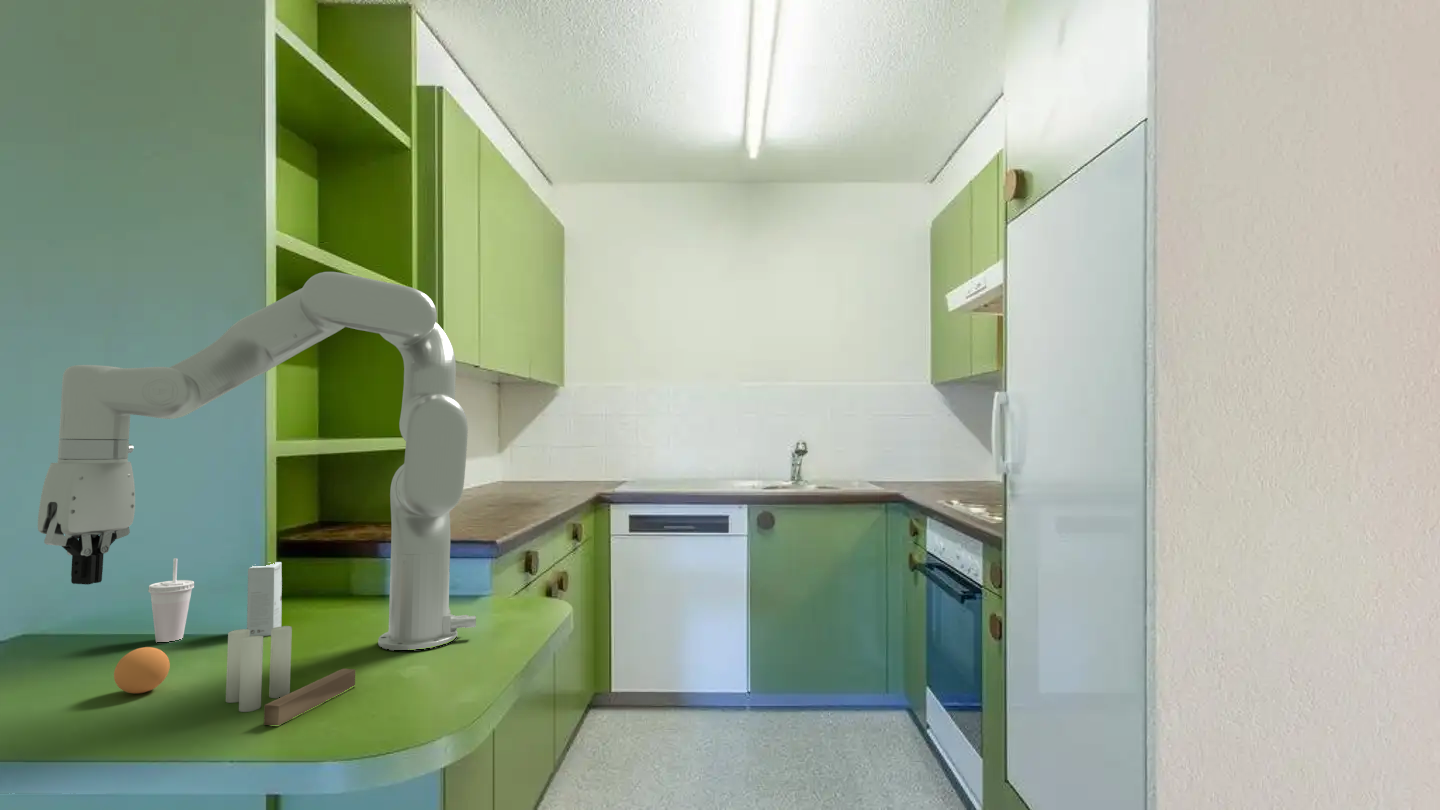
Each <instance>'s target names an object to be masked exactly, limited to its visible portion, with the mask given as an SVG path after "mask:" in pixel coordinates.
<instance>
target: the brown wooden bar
mask: <svg viewBox="0 0 1440 810" xmlns="http://www.w3.org/2000/svg"><path fill="white" fill-rule="evenodd" d="M354 685H355V686H356V669H353V668H342V669H339V670H336V671H334V672H332V673H330V674H328V675H326V676H324V677H322V678H320V679H317V680H315V681H313V682H311V683H309V684H306V685H304V686H302V687H301V688H298V689H296V690H294V691H292V692H291V691H290V693H289V694H287V695H285V696H283V697H280V698H275V699H274V700H272V701H270V702H268V703H265V704H264V706H263V707H264V709H263V711H264V712H263V726H264V725H280V724H282V723H284V722H286V721H288V720H290V719H292V718H293V717H295V716H297V715H299V714H301V713H304V712H305V711H307V710H309V709H311V708H313V707H315V706H317V705H319V704H321V703H323V702H325V701H326V700H328V699H330V698H332V697H334V696H336V695H338V694H340V693H342V692H344V691H345V690H347V689H349V688H350V687H352V686H354ZM304 714H305V713H304Z"/></svg>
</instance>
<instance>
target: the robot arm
mask: <svg viewBox="0 0 1440 810" xmlns="http://www.w3.org/2000/svg"><path fill="white" fill-rule="evenodd" d="M437 319H438V313H437V308H436V305H435V304H434V302H433V300H432V298H430V297H429V296H428V295H427V294H426V293H424V292H423V291H421V290H418V289H417V288H415V287H411V286H405V285H401V284H397V283H393V282H392V283H391V282H385V281H382V280H378V279H377V280H376V279H371V278H367V277H364V276H363V277H362V276H358V275H354V274H349V273H344V272H338V271H337V272H336V271H323V272H319V273H315V274H314V275H312V276H311V277H310V278H308V279H307V281H306V282H305V283H304V285H303V286H302V288H299V289H298V290H296V291H294V292H292V293H290V294H288V295H286V296H284V297H282V298H281V299H279V300H276V301H275V302H272V303H270V304H268V305H267V306H264V307H263V308H261V309H258V310H256V311H254V312H253V313H250V314H249V315H247V316H245V317H243V318H241V319H239V320H238V321H237V322H235V323H234V324H232V325H231V326H230V327H229V328H228V329H227V330H226V331H225V332H224V333H223V334H222V335H221V336H220V337H219V338H218V339H216V340H215V341H214V342H213V343H211V344H209V345H207V346H206V347H205V348H203V349H202V350H200V351H198V352H196V353H194V354H192V355H190V356H189V357H187V358H185V359H183V360H181V361H179V362H177V363H176V364H173V365H171V366H169V367H167V366H148V367H129V368H127V367H126V368H125V367H123V368H122V367H118V366H111V365H100V364H99V365H98V364H78V365H77V364H75V365H71V366H69V367H67V368H65V370H64V371H63V373H62V380H61V381H62V382H61V384H62V385H61V399H60V401H61V402H60V417H59V431H58V445H57V446H58V448H57V462H50V464H49V467H48V469H47V473H46V476H45V477H44V482H43V485H42V491H41V494H40V501H39V507H38V508H39V509H38V516H37V531H38V532H39V533H41V534H44V535H45V537H44V540H43V543H44V544H45V545H49V546H58V547H59V546H60V547H62V548H63V549H64V550H65V551H66V554H67V555H68V556H71V571H70V572H71V573H70V576H71V579H70V582H71V584H73V585H88V586H89V585H92V584H98V583H101V582H102V580H103V568H104V567H103V566H104V554H107V553H108V552H109V551H110V547H111V545H112V544H114V542H115V541H116V540H118V539H121V538H124V537H126V536H129V534H130V533H131V531H130V527H131V526H132V525H133V522H134V519H135V512H136V490H135V489H136V488H135V479H134V471H133V470H134V469H133V467H132V463H131V461H129V454H131V453H133V452H134V445H133V444H130V442H129V441H130V427H131V415H133V416H134V415H135V416H144V417H149V418H153V419H154V418H155V419H161V420H162V419H165V420H175V419H179V418H182V417H184V416H185V417H186V416H187V415H189V414H191V413H193V412H195V411H196V410H198V409H200V408H202V407H203V406H205V405H207V404H209V403H210V402H212V401H215V400H216V399H218V398H220V397H221V396H223V395H225V394H227V393H229V392H230V391H232V390H234V389H236V388H238V387H239V386H241V385H243V384H244V383H246V382H248V381H250V380H251V379H253V378H255V377H258V376H260V375H262V374H265V373H267V372H268V371H270V370H271V369H273V368H275V367H277V366H278V365H280V364H282V363H284V362H286V361H287V360H289V359H291V358H292V357H295V356H296V355H298V354H300V353H301V352H303V351H305V350H307V349H309V348H310V347H312V346H314V345H315V344H318V343H320V342H322V341H323V340H325V339H327V338H328V337H331V336H333V335H334V334H336V333H338V332H340V331H341V330H342V329H344V328H348V329H349V328H350V329H355V330H358V331H365V332H369V333H374V334H379V335H380V336H381V337H382V338H383V339H384V340H385V341H387V342H389V343H390V344H392V345H393V346H394V347H396V349H397V350H398V351H399V353H400V354H401V357H402V360H403V368H404V370H403V391H402V402H401V411H400V416H399V424H398V425H399V426H398V427H399V431H400V435H401V437H402V438H403V440H404V441H405V452H404V463H403V464H402V465H400V466H399V467H398V469H397V470H396V471H395V473H394V475H393V477H392V479H391V484H390V488H389V489H390V493H389V497H390V499H389V500H390V519H391V523H390V524H391V532H390V533H391V541H390V542H391V545H390V546H391V547H390V568H389V569H390V570H389V571H390V572H389V574H390V575H389V605H388V609H389V610H388V611H389V612H388V614H389V615H388V631H387V632H384V633H383V634H381V635H380V636H379V637H378V641H377V642H378V643H377V644H378V646H379V647H380V648H381V647H382V649H384V650H387V649H389V650H388V651H394V650H408V649H409V650H410V649H419V648H426V647H431V646H437V645H440V644H443V643H446V642H448V641H450V640H452V639H454V638H455V637H456V636H457V637H458V630H457V629H461V628H464V629H466V628H468V629H469V628H476V627H477V616H476V615H470V616H469V614H461V615H455V614H452V613H451V608H450V607H449V606H450V605H449V604H450V567H451V566H450V562H451V515H450V512H451V511H452V510H453V509H455V507H456V506H457V505H458V503H459V501H461V500H460V499H461V498H462V495H463V491H464V485H465V477H466V465H467V464H466V463H467V450H468V449H467V448H468V438H469V436H468V433H469V432H468V431H469V427H468V419H467V416H466V413H465V409H463V407H462V406H461V404H460V403H459V402H458V401H457V400H456V380H457V379H456V378H457V377H456V376H457V375H456V374H457V373H456V371H457V364H456V356H455V351H454V347H453V344H452V343H451V341H450V339H449V337H448V335H447V334H446V333H445V331H444V330H443V328H442V327H441V326H440V324H439V323H437Z"/></svg>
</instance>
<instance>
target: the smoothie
mask: <svg viewBox="0 0 1440 810" xmlns="http://www.w3.org/2000/svg"><path fill="white" fill-rule="evenodd" d="M172 563H173V564H172V580H166V581H160V582H155V583H152V584H149V585H148V590H147V592H148V593H150V600H151V601H150V602H151V609H152V610H151V611H152V618H153V628H154V637H155V642H156V643H157V642H169V641H175V640H179V639H181V640H183V639H184V633H185V628H186V623H187V618H188V612H189V608H190V602H191V595H192V590H193V589H194V588H195V581H193V580H190V579H177V577H178V576H177V575H178V558H177V557H175V558H173V560H172ZM182 638H183V639H182ZM179 641H180V640H179ZM175 642H176V641H175ZM169 643H170V642H169Z"/></svg>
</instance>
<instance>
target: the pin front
mask: <svg viewBox="0 0 1440 810" xmlns="http://www.w3.org/2000/svg"><path fill="white" fill-rule="evenodd" d="M227 635H228V636H227V654H226V655H227V659H226V680H225V681H226V683H225V684H226V685H225V702H226V703H230V704H232V703H239V690H240V663H241V639H243V638H245V637H249V635H250V630H248V629H247V628H245V629H244V628H242V629H241V628H239V629H235V630H232V631H229V632H228V631H227Z"/></svg>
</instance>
